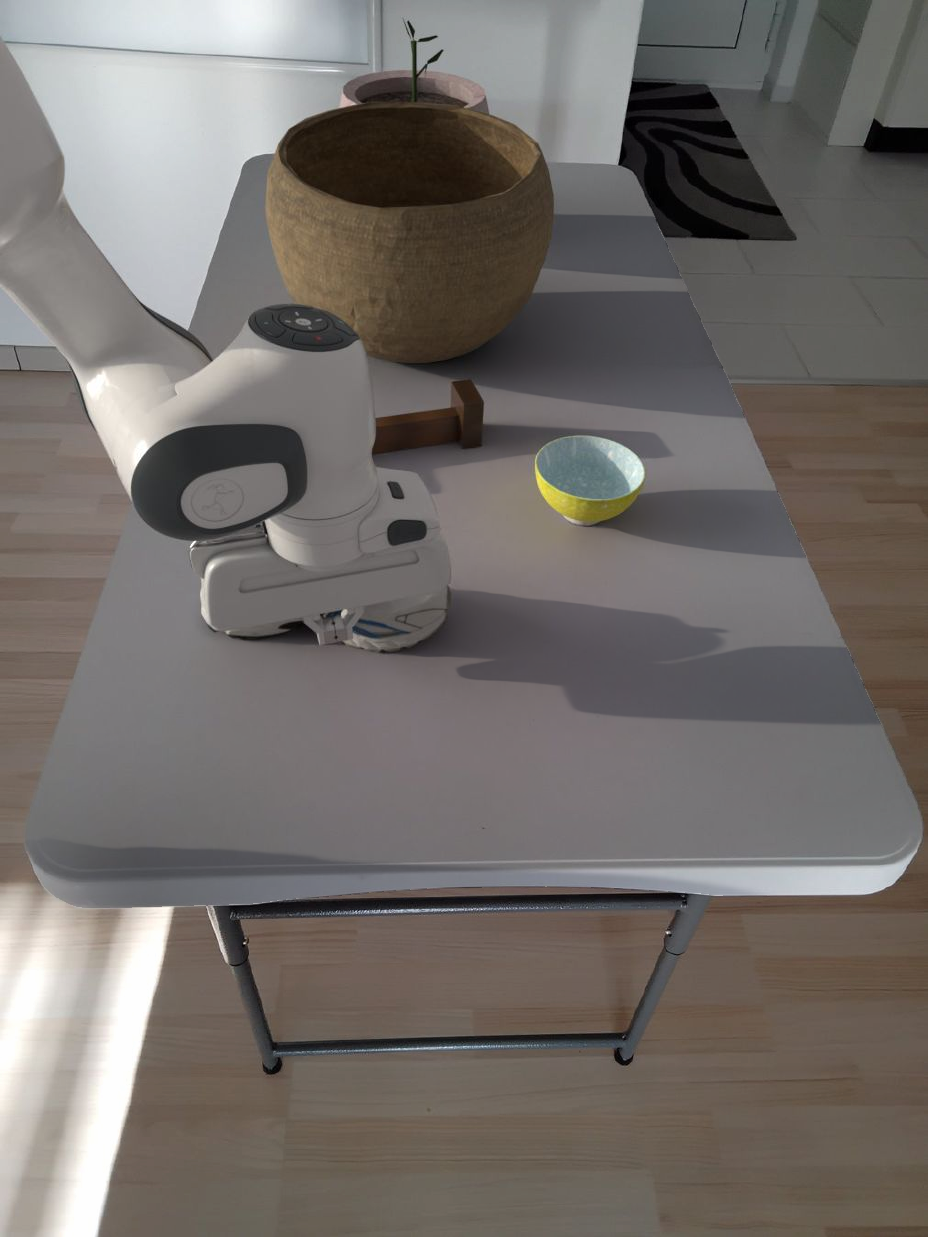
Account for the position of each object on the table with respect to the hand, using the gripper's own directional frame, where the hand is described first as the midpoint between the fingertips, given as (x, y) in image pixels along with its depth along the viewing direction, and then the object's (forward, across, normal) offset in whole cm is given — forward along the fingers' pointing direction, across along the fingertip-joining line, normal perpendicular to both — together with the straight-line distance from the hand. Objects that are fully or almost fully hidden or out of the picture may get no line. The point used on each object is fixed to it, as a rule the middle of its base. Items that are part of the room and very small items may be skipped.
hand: (334, 637), depth 81 cm
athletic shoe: (+3, 0, +6) cm, 7 cm away
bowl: (+4, +30, +15) cm, 33 cm away
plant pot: (+4, +30, +89) cm, 94 cm away
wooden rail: (+3, +7, +31) cm, 32 cm away
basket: (+4, +21, +57) cm, 61 cm away
